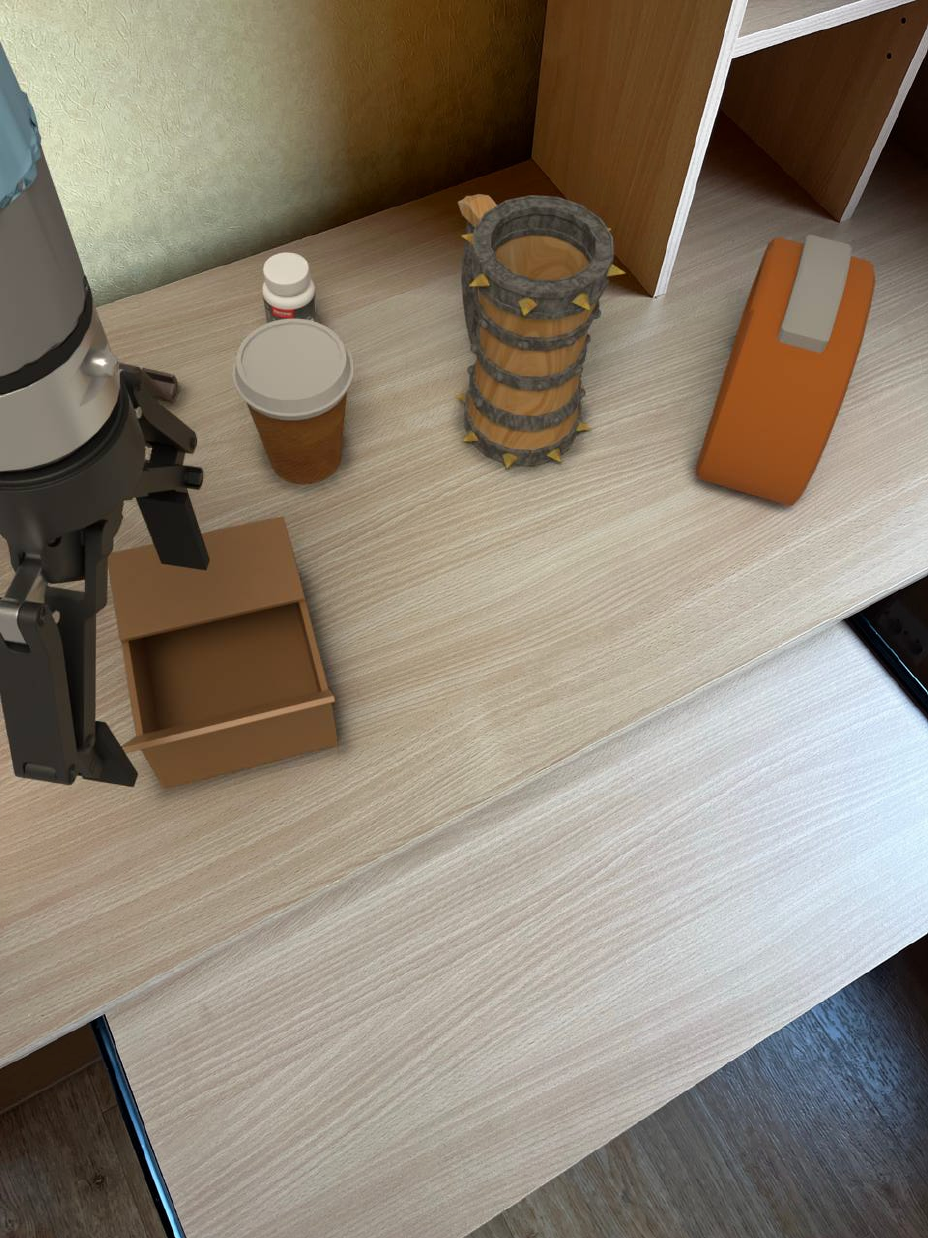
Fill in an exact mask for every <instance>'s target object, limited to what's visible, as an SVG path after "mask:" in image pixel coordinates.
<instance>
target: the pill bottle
mask: <svg viewBox="0 0 928 1238" xmlns="http://www.w3.org/2000/svg"><path fill="white" fill-rule="evenodd" d="M262 273H263V280H264V281H263V284H262V287H261V292H262V293H261V295H262V299H263V301H262V302H263V307H264V313H265V320H266V324H267V323H270V322H273V321H277V320H282V319H305V320H310V321H314V322H317V323H319V314H318V304H317V293H316V287H315V283H314V280H313V279H312V277H311V271H310V266H309V263H308V261H307V260H306V259H305V258H304V257H303V256H302V255H300V254H299V253H298V254H297V253H294V252H286V251H285V252H279V253H276V254H273V255H272V256H270V257H269V258H268V259H267V260H266V261H265V262H264V264H263V267H262Z"/></svg>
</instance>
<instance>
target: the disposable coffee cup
mask: <svg viewBox="0 0 928 1238" xmlns="http://www.w3.org/2000/svg"><path fill="white" fill-rule="evenodd" d="M354 369H355V367H354V361H353V357H352V355H351V352H350V351H349V349H348V348H347V346H346V345H345V344H344V343H343V341H342V339H341V338H340V337H339V335H338V334H336V333H335V331H333V330H332V329H331V328H329V327H327V326H325V325H324V324H322V323H320V322H318V323H317V322H314V321H310V320H305V319H282V320H277V321H273V322H270V323H267V322H266V323H265V324H263V325H261V326H259V327H257V328H255V329H254V330H252V332H251V333H249V334H248V335H247V336H246V337H244V339H243V340H242V341H241V344H240V345H239V346H238V350H237V352H236V356H235V358H234V361H233V363H232V369H231V377H232V382H233V386H234V388H235V390H236V392H237V393H238V395H239V396H240V398H241V399H242V400H243V401H244V403H246V405H247V406H246V407H247V408H248V410H249V414H250V416H251V419H252V420H253V423H254V425H255V428H256V431H257V433H258V436H259V438H260V440H261V443H262V446H263V447H264V450H265V453H266V455H267V458H268V460H269V463H270V465H271V469H272V470H273V471H274V472H275V474H277V476H279V477H280V478H282V479H284V480H285V481H287V482H290V483H294V484H301V485H308V484H314V483H318V482H321V481H323V480H325V479H327V478H329V477H330V476H332V475H333V474H334V472H336V470H337V469H338V468H339V466H340V464H341V461H342V455H343V442H344V431H345V423H346V422H345V421H346V411H347V402H348V401H347V400H348V399H347V398H348V391H349V389H350V387H351V384H352V382H353V379H354Z"/></svg>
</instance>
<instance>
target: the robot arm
mask: <svg viewBox="0 0 928 1238" xmlns="http://www.w3.org/2000/svg"><path fill="white" fill-rule="evenodd" d="M35 112H36V111H35V109H34V106H33V105H32V103H31V102H30V99H29V96H28V93H27V92H25V91H24V90H22V88H21V86H20V84H19V81H18V79H17V76H16V74H15V72H14V70H13V68H12V65H11V63H10V60H9V58H8V56H7V54H6V52H5V49H4V47H3V44H2V42H1V41H0V536H1V537H3V539H4V540H5V541H6V544H7V547H8V552H9V553H8V554H9V561H10V564H11V565H10V566H11V568H12V569H13V571H14V573H15V574H14V576H13V578H12V580H11V582H10V583H9V586H8V588H7V590H5V593H4V595H3V596H0V702H1V708H2V709H1V710H2V714H3V719H4V724H5V729H6V735H7V741H8V747H9V752H10V757H11V762H12V768H13V773H14V776H15V777H17V778H21V779H27V780H35V781H39V782H46V783H53V784H57V785H63V786H72V785H73V784H74V783H75V782H76V779H77V777H81V778H82V779H83V780H87V781H91V782H99V783H105V784H110V785H117V786H123V787H128V788H129V787H130V788H135V787H136V786H135V785H136V782H137V779H138V777H139V773H138V770H137V769H136V768H135V766H134V764H133V763H132V761H131V759H130V758H129V756H128V755H127V753H125V752H124V750H123V749H122V747H121V746H122V745H121V744H120V742H119V741H118V739H117V737H116V736H115V734H114V732H113V731H112V729H111V728H110V726H109V725H108V723H107V721H102V720H101V721H100V720H96V710H97V709H96V704H97V703H96V699H97V697H96V694H97V693H96V692H97V691H96V688H97V687H96V686H97V680H96V678H97V613H99V612H101V611H102V610H104V609H105V607H106V606H107V605H108V604H107V603H108V579H109V578H108V575H109V568H108V556H109V555H110V554H111V553H112V552H114V541H115V540H114V539H115V537H116V535H117V533H118V532H119V531H120V528H121V526H122V523H123V520H124V515H123V510H124V505H125V502H128V501H132V500H133V499H135V500H136V503H137V505H138V508H139V511H140V513H141V516H142V519H143V520H144V521H143V522H144V523H145V526H146V528H147V531H148V534H149V537H150V539H151V541H152V544H154V546H155V549H156V551H157V554H158V556H159V559H160V561H161V564H166V565H173V566H180V567H186V568H193V569H200V570H207V567H208V564H209V561H210V559H209V556H208V552H207V549H206V546H205V543H204V540H203V537H202V534H201V533H202V531H201V528H200V525H199V522H198V518H197V515H196V512H195V509H194V506H193V503H192V500H191V497H190V494H189V491H188V489H189V490H197V491H200V490H201V488H202V486H203V483H204V477H205V475H204V469H203V467H200V466H194V465H187V464H184V462H185V458H186V454H189V455H193V454H194V453H195V451H196V449H197V447H198V437H197V433H196V431H194V430H193V429H192V427H191V428H190V427H189V426H188V425H187V424H186V423H185V422H184V421H182V420H181V418H179V417H177V415H175V414H174V413H173V412H171V410H169V409H168V408H167V407H166V406H165V405H163V404H162V403H160V402H159V401H158V400H157V398H155V397H152V395H151V393H150V391H149V388H148V386H147V384H146V381H145V379H144V377H143V375H142V373H141V372H135V371H128V370H123V369H119V359H118V356H117V355H116V354H115V353H114V352H113V350H112V348H111V347H112V346H111V345H110V341H109V339H108V336H107V334H106V331H105V328H104V326H103V324H102V321H101V318H100V315H99V312H98V310H97V307H96V305H95V302H94V298H93V293H92V289H91V286H90V283H89V280H88V277H87V275H86V274H85V270H84V267H83V264H82V261H81V258H80V255H79V252H78V250H77V246H76V243H75V241H74V238H73V235H72V232H71V229H70V226H69V223H68V221H67V220H68V219H67V217H66V213H65V212H64V208H63V206H62V203H61V200H60V196H59V194H58V192H57V188H56V185H55V182H54V179H53V176H52V174H51V170H50V168H49V164H48V161H47V159H46V156H45V152H44V150H43V149H44V148H43V146H42V136H41V133H40V130H39V125H38V120H37V116H36V113H35ZM146 448H148V449H151V450H150V455H149V459H146ZM80 581H84V591H82V590H75V589H68V588H64V587H63V588H62V587H55V586H50V585H57V584H65V583H73V582H80ZM49 584H50V585H49Z"/></svg>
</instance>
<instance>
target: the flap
mask: <svg viewBox="0 0 928 1238" xmlns="http://www.w3.org/2000/svg"><path fill="white" fill-rule="evenodd" d="M328 689H329V688H328ZM328 689H327V690H323V691H319V692H315V693H310V694H306V695H302V696H298V697H294V698H290V699H286V700H282V701H278V702H274V703H270V704H266V705H261V706H257V707H253V708H249V709H245V710H241V711H237V712H233V713H229V714H225V715H221V716H216V717H212V718H208V719H204V720H200V721H196V722H192V723H188V724H184V725H180V726H176V727H172V728H167V729H163V730H159V731H155V732H151V733H147V734H143V735H139V736H136V735H135V736H134V737H132V738H131V739H129V740H128V741H127V742H125V743H124V744H122V745H121V747H122V749H123V750H124V752H125V753H126V754H129V753H134V752H138V751H141V750H142V749H146V748H150V747H154V746H158V745H162V744H166V743H170V742H174V741H178V740H182V739H186V738H190V737H194V736H198V735H202V734H207V733H211V732H215V731H219V730H223V729H227V728H231V727H235V726H239V725H243V724H247V723H251V722H255V721H259V720H263V719H267V718H271V717H275V716H279V715H283V714H287V713H292V712H296V711H300V710H304V709H308V708H312V707H316V706H320V705H324V704H328V703H331V704H332V703H335V702H336V698H335V697H336V696H335V695H334V694H333V692H332V691H330V690H328Z"/></svg>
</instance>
